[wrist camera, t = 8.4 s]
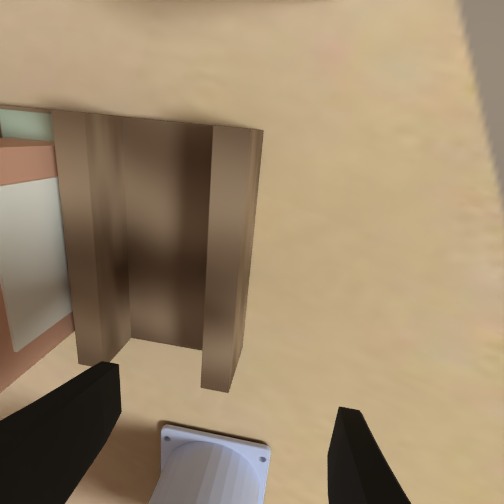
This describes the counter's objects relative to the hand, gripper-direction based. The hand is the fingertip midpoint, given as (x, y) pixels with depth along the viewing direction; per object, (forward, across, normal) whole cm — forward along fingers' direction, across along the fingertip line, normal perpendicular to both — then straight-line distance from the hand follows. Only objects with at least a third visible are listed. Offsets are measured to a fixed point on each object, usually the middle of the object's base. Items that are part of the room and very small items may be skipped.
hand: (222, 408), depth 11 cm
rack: (+9, +12, -2) cm, 15 cm away
